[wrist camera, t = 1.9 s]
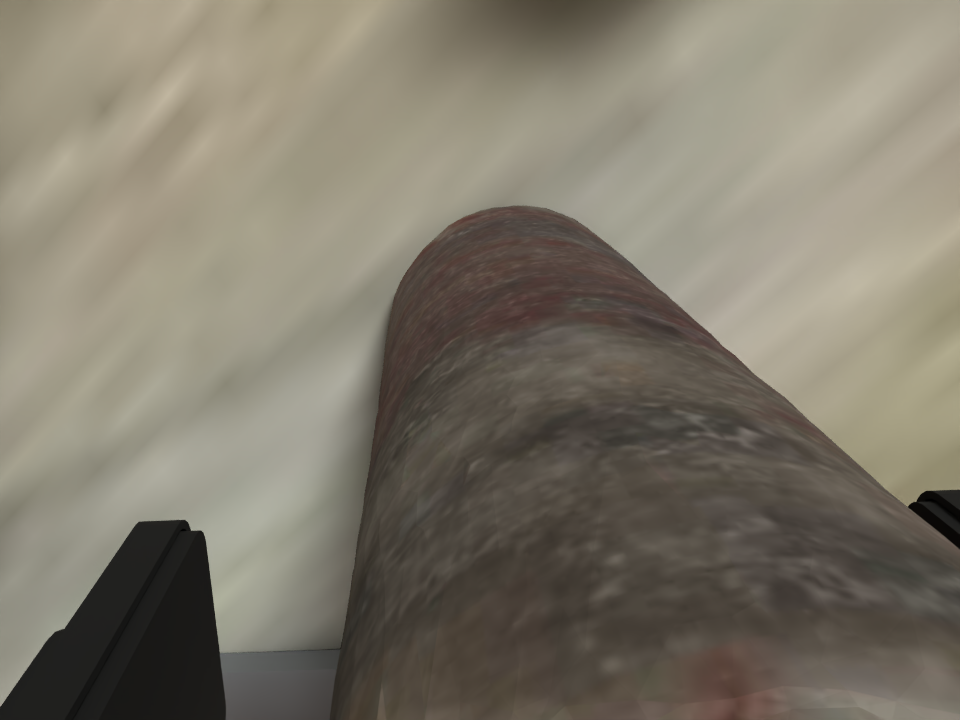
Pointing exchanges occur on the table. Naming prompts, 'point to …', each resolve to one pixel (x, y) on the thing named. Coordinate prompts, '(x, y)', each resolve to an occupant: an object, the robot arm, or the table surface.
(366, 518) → the candle
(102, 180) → the table surface
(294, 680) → the tray
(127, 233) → the table surface
